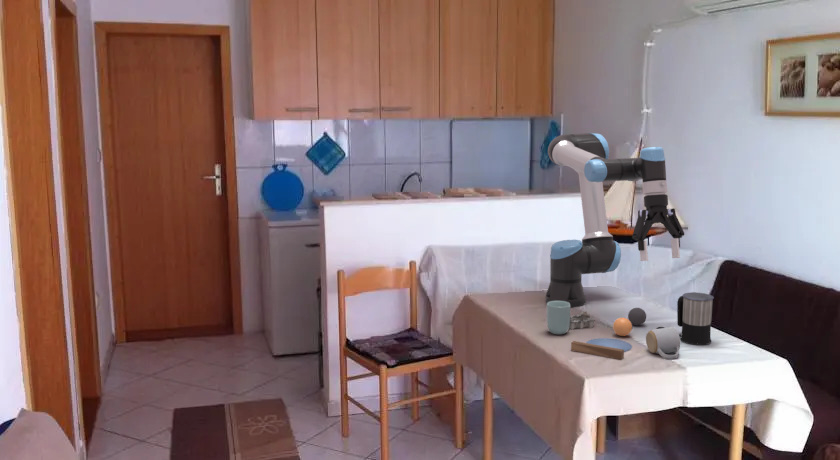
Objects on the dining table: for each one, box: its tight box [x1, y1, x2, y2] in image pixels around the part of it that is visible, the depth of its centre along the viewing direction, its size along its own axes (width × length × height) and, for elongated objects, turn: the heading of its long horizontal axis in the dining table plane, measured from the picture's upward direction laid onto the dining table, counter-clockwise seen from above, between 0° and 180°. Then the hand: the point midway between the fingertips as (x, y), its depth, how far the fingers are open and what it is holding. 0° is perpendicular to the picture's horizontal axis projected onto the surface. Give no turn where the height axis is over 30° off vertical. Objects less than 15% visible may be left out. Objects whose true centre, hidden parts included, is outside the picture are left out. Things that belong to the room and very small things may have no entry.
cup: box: [546, 301, 571, 335], centre depth 254 cm, size 8×8×10 cm
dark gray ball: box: [627, 307, 647, 326], centre depth 261 cm, size 6×6×6 cm
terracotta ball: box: [612, 317, 633, 337], centre depth 250 cm, size 6×6×6 cm
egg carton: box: [568, 311, 596, 330], centre depth 262 cm, size 11×8×4 cm
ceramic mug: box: [645, 326, 681, 360], centre depth 232 cm, size 11×8×8 cm
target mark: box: [585, 337, 633, 353], centre depth 241 cm, size 14×14×1 cm
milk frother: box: [655, 291, 715, 346], centre depth 243 cm, size 14×16×15 cm
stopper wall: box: [570, 340, 625, 360], centre depth 233 cm, size 2×16×2 cm, turn 55°
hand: (660, 259), depth 251 cm, fingers open, 13 cm apart
